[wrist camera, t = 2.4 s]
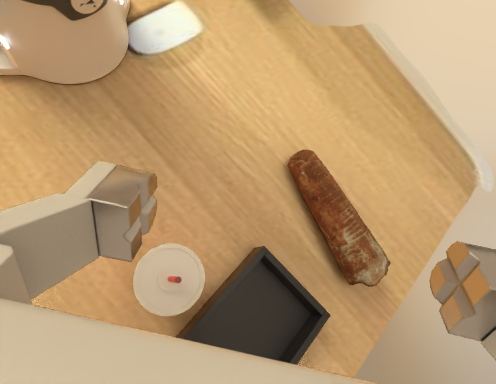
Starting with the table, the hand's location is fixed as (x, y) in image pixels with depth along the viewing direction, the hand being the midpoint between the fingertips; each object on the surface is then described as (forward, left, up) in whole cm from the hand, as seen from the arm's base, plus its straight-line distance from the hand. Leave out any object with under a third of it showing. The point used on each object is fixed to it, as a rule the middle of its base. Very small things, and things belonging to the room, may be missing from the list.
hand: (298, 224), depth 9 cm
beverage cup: (+1, -2, -31) cm, 31 cm away
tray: (+12, 0, -31) cm, 33 cm away
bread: (+11, +18, -31) cm, 37 cm away
